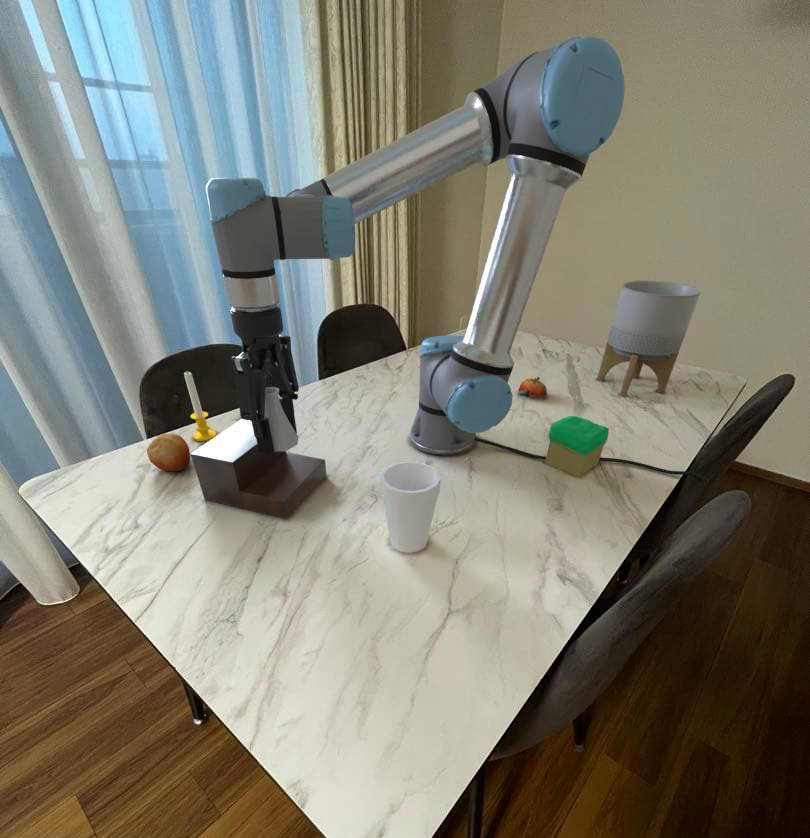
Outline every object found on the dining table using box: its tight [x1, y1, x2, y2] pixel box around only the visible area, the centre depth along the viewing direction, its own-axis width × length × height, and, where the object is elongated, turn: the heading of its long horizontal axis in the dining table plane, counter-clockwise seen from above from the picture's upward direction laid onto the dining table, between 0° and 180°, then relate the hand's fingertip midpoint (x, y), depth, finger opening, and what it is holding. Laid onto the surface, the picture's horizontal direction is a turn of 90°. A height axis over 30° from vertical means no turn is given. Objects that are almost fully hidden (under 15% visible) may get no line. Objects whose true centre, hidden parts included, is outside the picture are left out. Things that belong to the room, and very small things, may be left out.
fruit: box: [146, 433, 192, 472], centre depth 98 cm, size 8×8×8 cm
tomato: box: [518, 376, 548, 398], centre depth 131 cm, size 8×7×7 cm
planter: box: [596, 280, 702, 398], centre depth 130 cm, size 19×19×26 cm
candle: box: [183, 371, 218, 442], centre depth 106 cm, size 5×5×16 cm
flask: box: [265, 386, 299, 452], centre depth 83 cm, size 7×7×10 cm
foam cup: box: [379, 460, 441, 554], centre depth 77 cm, size 10×9×13 cm
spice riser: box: [190, 418, 328, 520], centre depth 91 cm, size 18×16×10 cm
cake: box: [544, 415, 610, 478], centre depth 100 cm, size 10×11×10 cm
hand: (278, 442), depth 86 cm, fingers closed on flask, 7 cm apart
